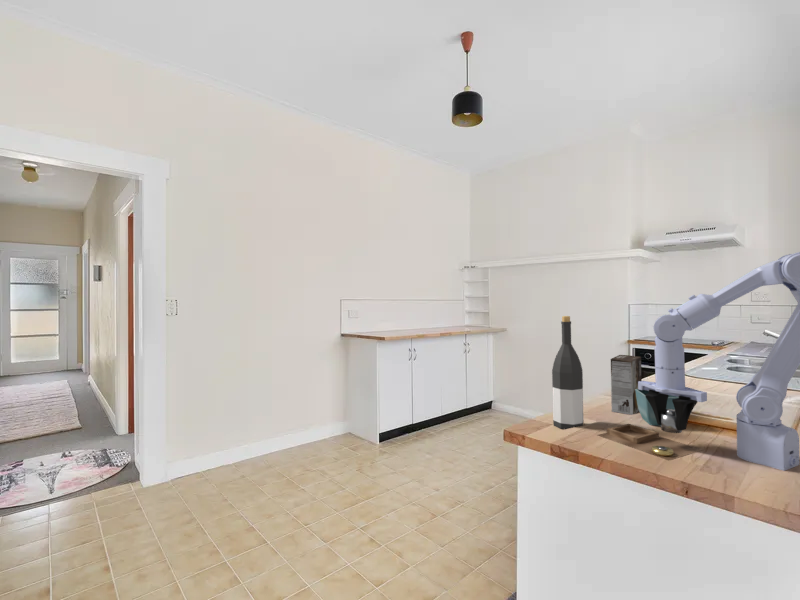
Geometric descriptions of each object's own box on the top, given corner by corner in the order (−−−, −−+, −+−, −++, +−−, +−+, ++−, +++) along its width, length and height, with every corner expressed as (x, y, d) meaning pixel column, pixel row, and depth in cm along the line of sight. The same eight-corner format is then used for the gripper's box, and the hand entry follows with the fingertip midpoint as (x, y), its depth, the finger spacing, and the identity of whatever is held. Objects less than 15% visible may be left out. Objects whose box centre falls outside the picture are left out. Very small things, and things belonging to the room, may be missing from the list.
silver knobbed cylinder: (685, 431, 96) (685, 411, 96) (674, 434, 94) (674, 413, 94) (668, 426, 100) (668, 406, 100) (657, 429, 98) (656, 409, 98)
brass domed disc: (677, 454, 92) (677, 449, 92) (665, 458, 90) (665, 452, 90) (659, 448, 96) (659, 443, 96) (647, 452, 94) (647, 446, 94)
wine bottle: (547, 425, 117) (544, 316, 116) (562, 419, 122) (559, 315, 121) (575, 432, 111) (573, 317, 110) (589, 425, 116) (587, 315, 115)
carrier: (703, 454, 94) (703, 444, 94) (668, 465, 89) (668, 454, 89) (629, 431, 111) (629, 422, 111) (596, 439, 106) (596, 430, 106)
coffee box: (620, 405, 135) (619, 354, 134) (643, 408, 130) (642, 356, 130) (610, 411, 128) (609, 358, 128) (634, 415, 124) (633, 360, 123)
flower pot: (684, 432, 109) (684, 397, 108) (646, 430, 110) (646, 396, 110) (670, 421, 117) (669, 389, 117) (635, 420, 119) (634, 388, 119)
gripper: (628, 364, 102) (630, 421, 102) (691, 374, 89) (693, 439, 89) (648, 361, 105) (650, 416, 105) (712, 370, 92) (713, 433, 92)
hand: (671, 426), depth 97 cm, fingers closed on silver knobbed cylinder, 4 cm apart
